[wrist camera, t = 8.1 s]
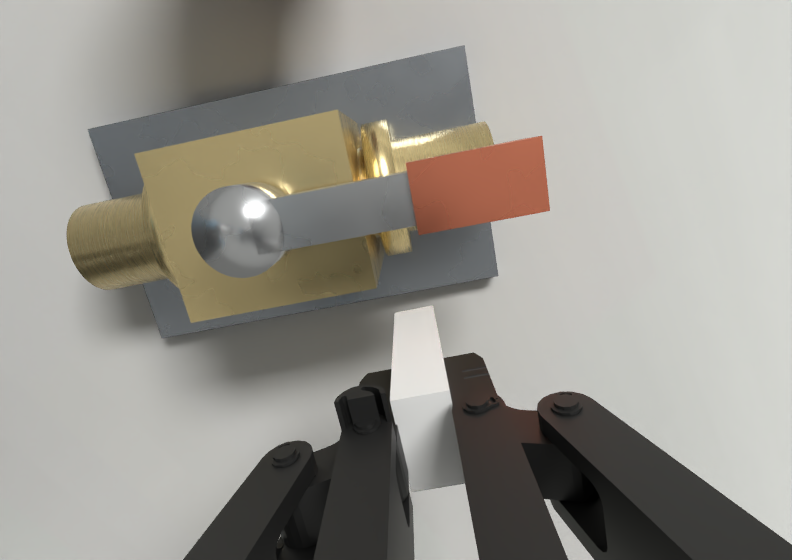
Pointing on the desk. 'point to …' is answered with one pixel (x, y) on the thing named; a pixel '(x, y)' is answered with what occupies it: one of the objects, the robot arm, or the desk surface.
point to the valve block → (290, 172)
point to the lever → (370, 205)
